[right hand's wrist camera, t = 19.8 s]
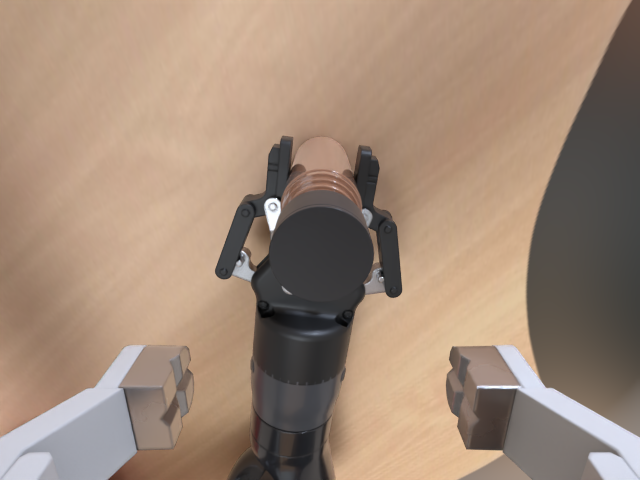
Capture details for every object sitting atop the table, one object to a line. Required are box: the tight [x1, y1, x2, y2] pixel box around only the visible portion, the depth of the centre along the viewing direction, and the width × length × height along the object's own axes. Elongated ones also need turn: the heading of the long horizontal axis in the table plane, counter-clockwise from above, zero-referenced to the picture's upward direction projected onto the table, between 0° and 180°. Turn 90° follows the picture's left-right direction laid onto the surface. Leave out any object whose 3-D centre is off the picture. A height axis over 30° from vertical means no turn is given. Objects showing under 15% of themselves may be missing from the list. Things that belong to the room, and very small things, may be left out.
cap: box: [269, 190, 374, 302], centre depth 18 cm, size 4×4×3 cm
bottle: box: [280, 136, 362, 212], centre depth 25 cm, size 4×4×18 cm
